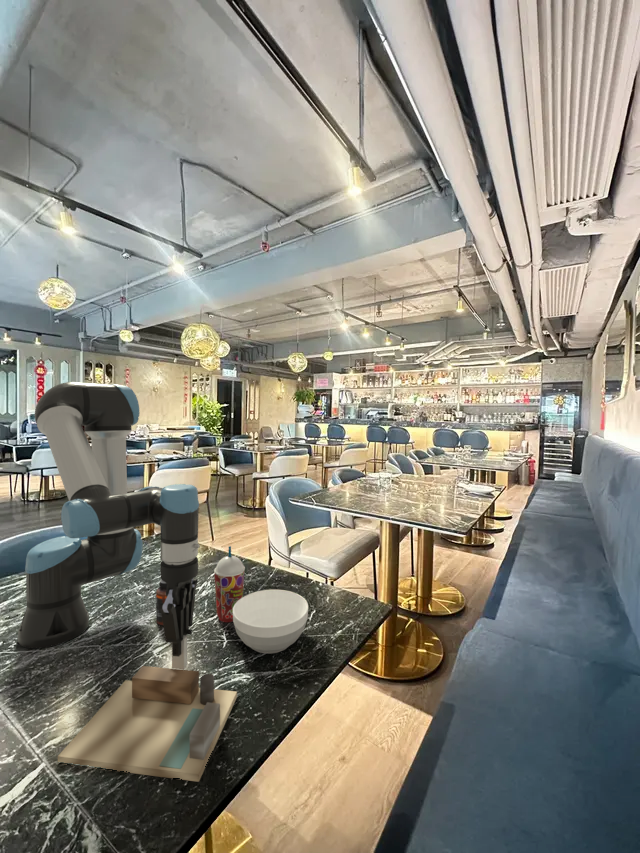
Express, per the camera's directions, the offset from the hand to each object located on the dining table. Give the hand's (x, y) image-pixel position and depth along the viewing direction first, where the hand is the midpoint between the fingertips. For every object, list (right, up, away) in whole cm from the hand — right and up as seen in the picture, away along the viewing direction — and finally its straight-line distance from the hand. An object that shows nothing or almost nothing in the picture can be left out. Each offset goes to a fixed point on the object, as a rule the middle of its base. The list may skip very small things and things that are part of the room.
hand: (179, 666), depth 83 cm
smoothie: (+5, -2, +25) cm, 26 cm away
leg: (0, -1, -7) cm, 7 cm away
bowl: (+18, -3, +14) cm, 23 cm away
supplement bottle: (-12, -2, +23) cm, 26 cm away
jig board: (0, -3, -13) cm, 13 cm away
